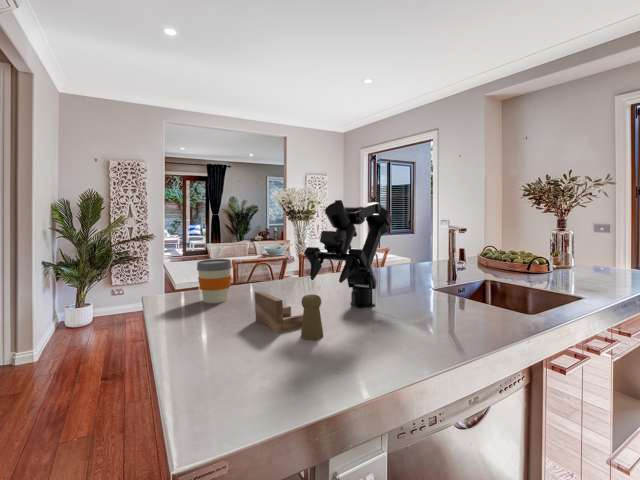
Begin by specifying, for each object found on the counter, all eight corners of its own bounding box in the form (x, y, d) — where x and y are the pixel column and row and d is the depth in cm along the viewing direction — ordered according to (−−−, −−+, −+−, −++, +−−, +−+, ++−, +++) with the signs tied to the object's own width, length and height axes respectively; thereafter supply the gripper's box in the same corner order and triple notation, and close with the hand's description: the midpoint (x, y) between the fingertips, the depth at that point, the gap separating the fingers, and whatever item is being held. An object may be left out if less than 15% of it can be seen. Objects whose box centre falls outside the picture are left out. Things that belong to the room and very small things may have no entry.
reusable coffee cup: (237, 300, 128) (236, 261, 127) (203, 306, 121) (201, 264, 120) (226, 294, 139) (225, 257, 137) (194, 299, 132) (192, 261, 130)
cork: (321, 340, 87) (320, 298, 86) (298, 339, 88) (297, 297, 87) (325, 332, 93) (324, 292, 92) (303, 331, 94) (302, 292, 93)
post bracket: (287, 314, 111) (286, 286, 110) (310, 325, 99) (310, 294, 98) (255, 320, 104) (254, 291, 104) (276, 333, 93) (275, 301, 92)
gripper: (306, 220, 104) (286, 261, 96) (363, 220, 95) (346, 265, 86) (320, 244, 112) (302, 283, 103) (373, 245, 102) (359, 289, 94)
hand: (325, 280), depth 96 cm, fingers open, 9 cm apart
